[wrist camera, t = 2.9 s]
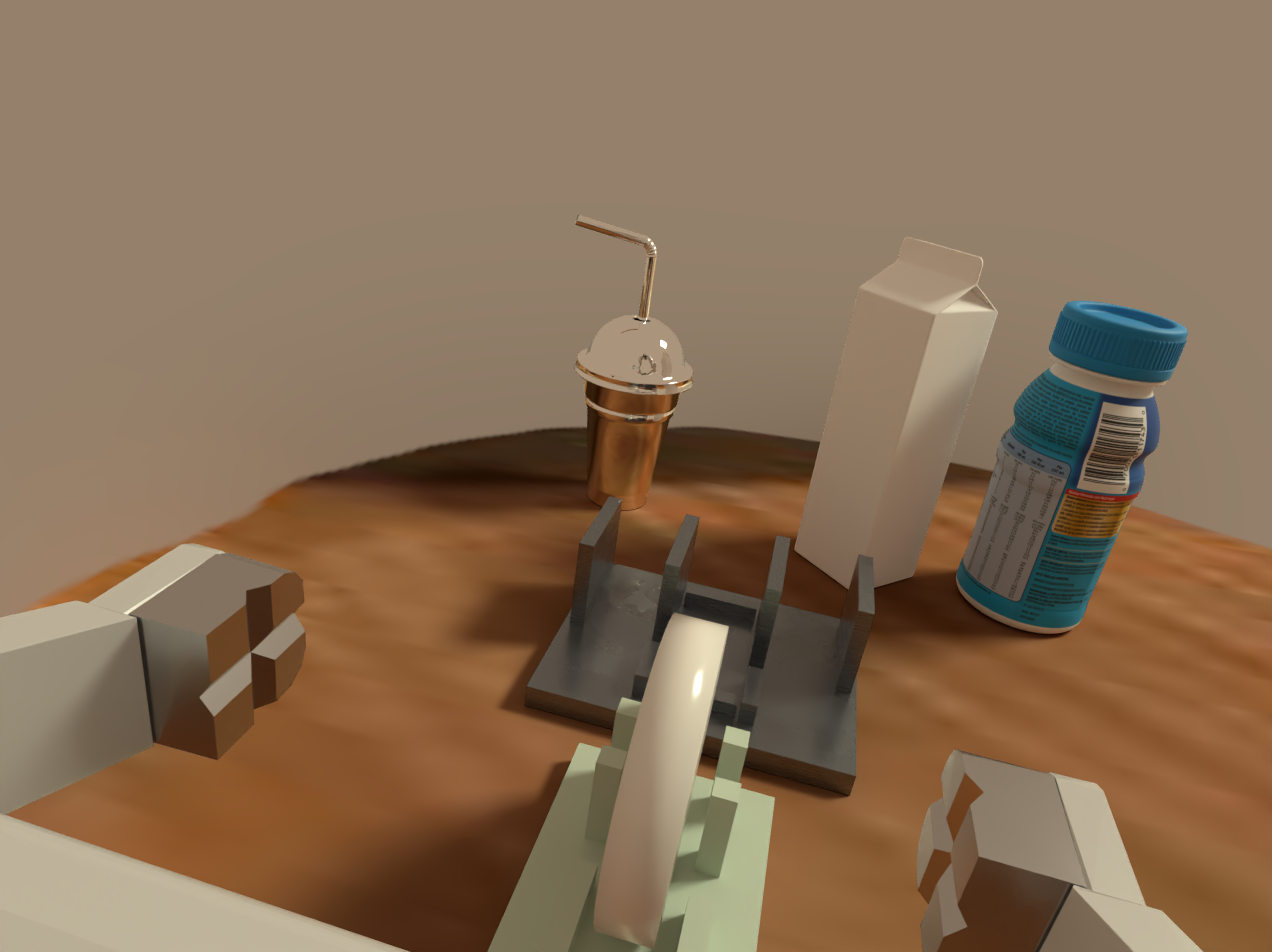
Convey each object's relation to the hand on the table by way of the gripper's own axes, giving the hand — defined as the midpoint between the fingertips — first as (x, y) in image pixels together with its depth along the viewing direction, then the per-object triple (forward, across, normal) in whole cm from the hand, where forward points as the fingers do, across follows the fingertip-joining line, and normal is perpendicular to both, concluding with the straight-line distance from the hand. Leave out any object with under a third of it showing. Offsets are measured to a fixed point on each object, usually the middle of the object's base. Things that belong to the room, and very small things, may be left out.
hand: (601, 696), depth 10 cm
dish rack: (+30, 0, +22) cm, 37 cm away
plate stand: (+15, 0, +22) cm, 26 cm away
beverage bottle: (+46, -19, +22) cm, 55 cm away
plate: (+15, 0, +21) cm, 26 cm away
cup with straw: (+48, +10, +22) cm, 54 cm away
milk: (+46, -8, +22) cm, 52 cm away
